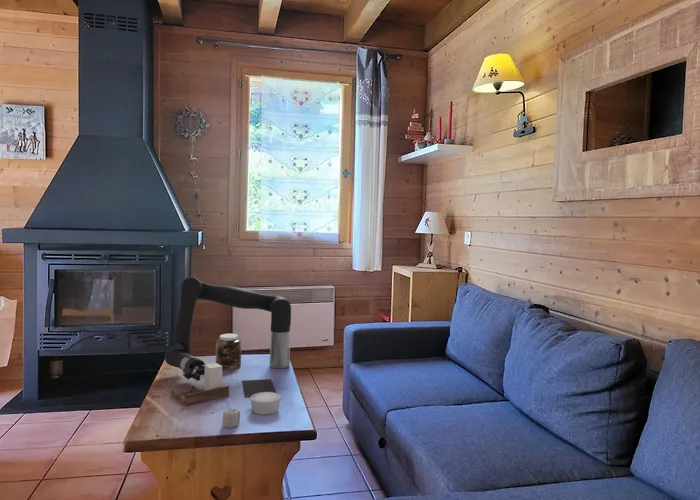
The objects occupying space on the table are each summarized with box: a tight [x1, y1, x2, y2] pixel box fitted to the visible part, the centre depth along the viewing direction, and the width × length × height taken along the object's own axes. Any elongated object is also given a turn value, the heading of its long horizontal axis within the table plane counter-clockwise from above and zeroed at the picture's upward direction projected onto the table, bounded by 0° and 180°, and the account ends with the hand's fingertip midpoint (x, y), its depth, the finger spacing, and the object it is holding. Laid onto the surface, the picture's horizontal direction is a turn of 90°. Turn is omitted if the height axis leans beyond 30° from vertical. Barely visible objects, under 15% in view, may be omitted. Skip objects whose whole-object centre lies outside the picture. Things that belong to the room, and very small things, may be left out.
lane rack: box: [170, 385, 230, 407], centre depth 201 cm, size 14×17×5 cm
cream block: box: [203, 362, 223, 391], centre depth 202 cm, size 5×5×12 cm
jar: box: [215, 333, 242, 371], centre depth 243 cm, size 12×12×15 cm
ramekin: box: [250, 392, 282, 416], centre depth 191 cm, size 11×11×5 cm
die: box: [221, 407, 241, 429], centre depth 177 cm, size 5×5×5 cm
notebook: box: [241, 378, 277, 399], centre depth 213 cm, size 13×2×21 cm
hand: (209, 376), depth 204 cm, fingers open, 8 cm apart
